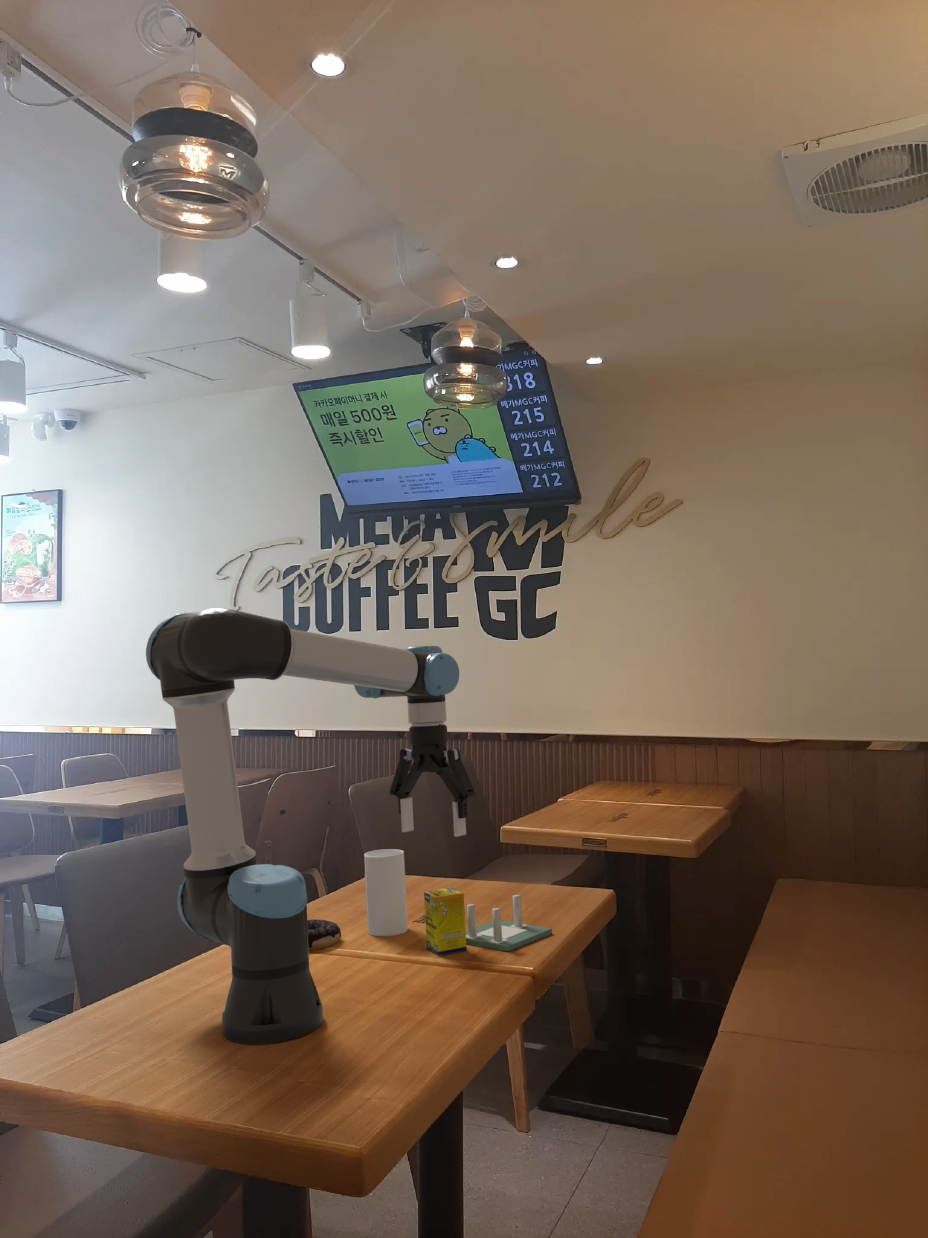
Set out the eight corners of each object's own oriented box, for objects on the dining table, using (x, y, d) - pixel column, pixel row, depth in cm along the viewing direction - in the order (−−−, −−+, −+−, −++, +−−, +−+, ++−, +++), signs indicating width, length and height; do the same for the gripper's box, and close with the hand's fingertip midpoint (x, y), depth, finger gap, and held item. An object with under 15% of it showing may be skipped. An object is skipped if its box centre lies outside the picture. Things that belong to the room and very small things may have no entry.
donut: (274, 951, 189) (273, 931, 189) (303, 935, 200) (302, 915, 200) (324, 954, 185) (323, 933, 185) (351, 937, 196) (350, 917, 197)
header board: (508, 951, 179) (506, 913, 179) (452, 941, 188) (450, 905, 189) (552, 933, 190) (550, 898, 190) (497, 924, 199) (495, 890, 199)
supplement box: (426, 949, 184) (423, 891, 185) (454, 943, 186) (451, 886, 187) (438, 956, 179) (435, 897, 179) (467, 951, 181) (464, 892, 182)
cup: (410, 925, 202) (406, 848, 203) (404, 936, 194) (400, 856, 195) (372, 926, 203) (368, 850, 204) (364, 937, 195) (360, 857, 196)
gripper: (489, 722, 184) (495, 834, 183) (394, 723, 200) (400, 826, 198) (464, 725, 178) (470, 840, 177) (369, 726, 194) (374, 832, 193)
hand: (433, 833), depth 188 cm, fingers open, 13 cm apart
